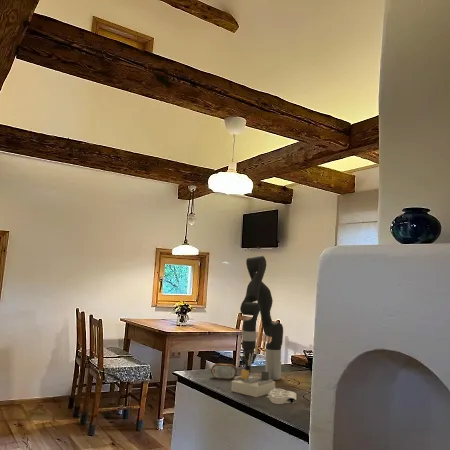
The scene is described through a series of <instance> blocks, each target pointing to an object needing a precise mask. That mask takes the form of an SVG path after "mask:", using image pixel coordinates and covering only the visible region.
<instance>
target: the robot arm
mask: <svg viewBox="0 0 450 450" xmlns="http://www.w3.org/2000/svg"><path fill="white" fill-rule="evenodd" d="M245 263H246V268H247V272H248V275H249V277H250V281H249V282H248V285H247V287H246V293H245V296H244V298H243V301H242V302H241V304H240V309H239V310H240V313H241V314H242V315H244V316H252V317H251V318H250V319H243V322H242V335H241V348H242V354H240V355H239V359H240V360H241V361H240V362H241V363H242V365H244V368H245V369H244V370H249V374H250V373H251V368H252V367H251V366H252V365H253V364H254V363H255V360H256V358H257V353H255V349H256V348H257V346H256V345H257V321H258V316H259V314H260V317H261V324H262V325H261V326H262V330H263V332H264V333H263V334H264V335H266V337H269V338H271V341H270V342H267V343H265V361H264V363H265V365H264V371H268V372H269V380H270V379H273V381H278V380H281V379H282V360H281V359H282V355H281V354H282V345H283V339H284V326H283V324H282V323H281V322H277V321H274V320H273V319H272V316H271V310H272V306H273V302H274V301H273V297H272V292H271V289H270V288H269V287H268V286H267V285H266V284H265V283H264V282H263V279H264V276H265V273H266V270H267V269H266V268H267V260H266V257H265V256H264V255H256V256H255V255H254V256H250V257H247V259H246V261H245Z"/></svg>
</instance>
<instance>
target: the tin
mask: <svg viewBox="0 0 450 450" xmlns="http://www.w3.org/2000/svg"><path fill="white" fill-rule="evenodd" d="M210 372H211V376H212V377H213V378H214V379H217V380H218V379H220V380H233V379H235V377H237V374H238V370H237V367H236V366H235V365H234V364H231V363H222V362H221V363H217V362H216V363H215V364H213V365H212V367H211V369H210Z"/></svg>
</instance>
